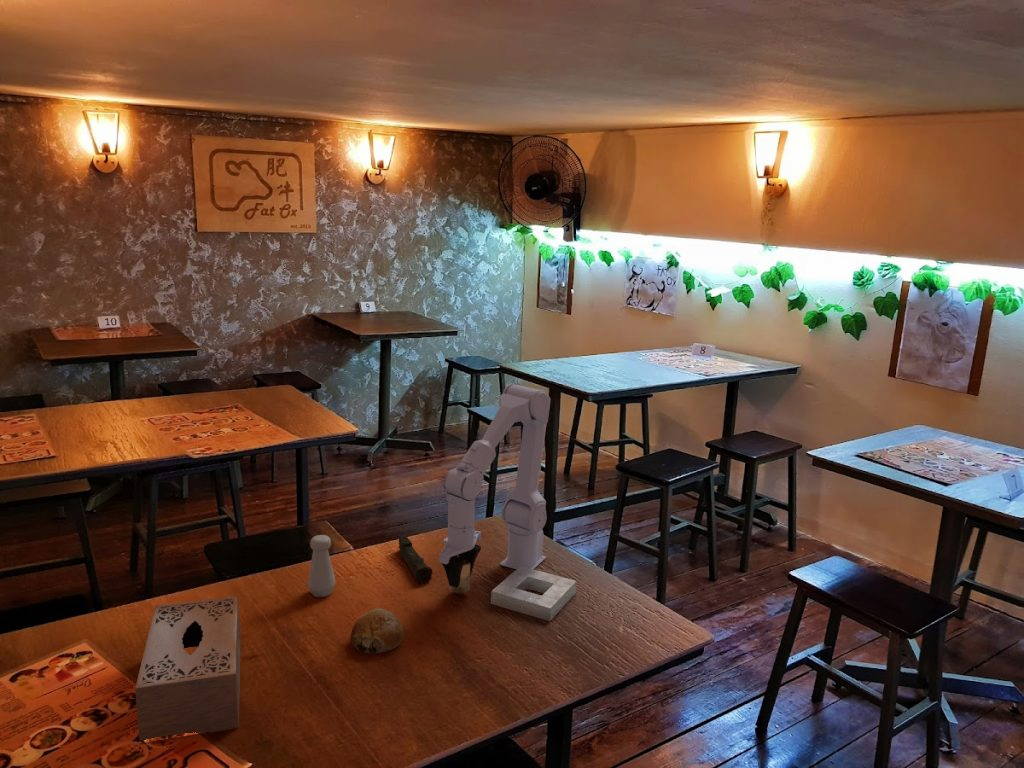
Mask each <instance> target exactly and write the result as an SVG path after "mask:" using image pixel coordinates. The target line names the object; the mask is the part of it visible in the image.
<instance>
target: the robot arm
mask: <svg viewBox="0 0 1024 768" xmlns="http://www.w3.org/2000/svg"><path fill="white" fill-rule="evenodd" d="M551 400H552V399H551V397H550V396H549V394H548V392H547V391H545V390H544V389H537V388H533V387H528V386H523V385H518V384H516V383H509V384H507V386H505V388H504V389H503V391H502V394H501V395H500V396H499V401H498V402H499V403H498V405H499V408H498V410H497V411H496V414H495V415H494V417H493V418H492V420H491V422H490V424H489V426H488V428H487V430H486V431H485V433H484V435H483V437H482V438H481V439H479V440H475V441H473V442H472V444H471V446H470V447H469V448H468V450H467V451H466V453H465V455H464V456H463V457H462V459H461V461H460V462H459V464H458V465H457V466H456V467H455V468H453V469H450V470H449V471H448V472H447V473H446V475H445V477H444V479H443V482H442V484H441V485H442V490H443V491H444V492H445V499H446V501H447V537H445V538H444V539H443V542H442V543H443V544H444V546H443V549H442V550H441V552H440V553H438V563H440V564H441V565H442V567H443V569H444V571H445V575H446V577H447V581H448V585H449V587H450V586H453V587H456V588H457V587H458V586H459V583H460V576H461V571H462V567H463V565H464V563H465V561H466V560H468V561H470V577H471V576H472V573H473V569H474V565H475V562H476V559H477V557H478V555H479V553H480V551H482V547H481V545H479V544H476V543H477V542H479V541H481V538H482V531H480V530H475V513H476V512H475V511H476V510H475V509H476V497H477V496H478V495H479V494H480V492H481V490H482V486H483V484H482V483H483V481H484V479H485V477H484V475H485V474H486V472H487V471H488V469H489V468H490V465H492V463H493V462H494V460H495V458H496V456H497V454H496V447H497V446H498V444H499V443H500V442H501V441H502V440H503V438H504V437H505V436H506V435H507V433H508V431H510V429H511V428H512V426H513V425H514V424H515V423H518V422H521V423H522V425H523V427H522V435H521V442H520V449H519V456H518V465H517V472H516V481H515V488H514V489H513V490H511V491H509V492H508V493H506V497H505V501H504V504H503V505H502V509H501V518H502V520H503V522H505V527H506V528H507V529H508V532H507V533H508V534H507V554H506V558H505V559H503V560H502V561H501V562H500V566H503V567H507V568H509V569H510V568H511V569H514V570H516V569H518V568H519V567H520V566H522V567H526V568H530V569H534V570H535V569H536V568H537V567H538V566H539V565H540V564H541V563H543V561H545V559H546V558H547V556H546V555H543V551H544V530H543V528H544V527H545V525H546V523H547V518H548V516H547V510H546V508H547V507H546V506H547V501H546V499H545V498H544V497H543V496H542V494H541V493H540V492H539V483H540V476H541V469H542V462H543V455H544V454H543V453H544V446H545V438H546V431H547V429H546V428H547V424H548V423H549V415H550V408H551ZM464 559H466V560H464Z"/></svg>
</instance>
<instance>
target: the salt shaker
mask: <svg viewBox="0 0 1024 768" xmlns="http://www.w3.org/2000/svg"><path fill="white" fill-rule="evenodd" d="M331 540H332V539H331V538H330V537H329V536H328V535H326V534H317V535H314V536H313V537H312V538H311V539H310V543H309V544H310V545H309V546H310V548H311V550H312V556H311V561H310V567H309V574H308V581H307V587H308V589H309V592H310V593H311V595H312V596H314V597H315V598H325V597H327V596H329V595H331V594H332V592H333V590H334V588H335V584H336V579H335V573H334V569H333V565H332V562H331V557H330V554H329V553H330V552H329V549H330V548H331V546H332V541H331Z"/></svg>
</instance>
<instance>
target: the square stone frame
mask: <svg viewBox="0 0 1024 768" xmlns="http://www.w3.org/2000/svg"><path fill="white" fill-rule="evenodd" d="M527 590H531V591H534V592H537V593H538V592H539V593H542V595H540V594H537V593H534V592H533V593H532V592H530V591H527ZM576 593H577V580H574V579H570V578H567V577H563V576H561V575H560V576H559V575H556V574H552V573H549V572H544V571H541V570H538V569H537V570H536V569H535V568H534V569H530V568H526V567H522V566H520V567H519V568H518V569H514V571H513V572H512V573H511V574H509V575H508V576H507V577H506V578H504V580H502V582H500V583H499V584H497V586H496V587H494V588H493V589H492V590H491V593H490V595H491V596H490V604H491V605H494V606H497V607H500V608H504V609H507V610H510V611H514V612H516V613H517V612H518V613H519V614H520V613H521V614H524V615H527V616H530V617H534V618H538V619H540V620H544V621H548V622H551V621H552V620H553V619H554V617H555V616H556V615H558V613H559V612H560V611H561V610H562V609H563V608H564V607H565V606H566V604H568V602H569V601H570V600H571V599H572V598H573V597H574V596H575V595H576Z"/></svg>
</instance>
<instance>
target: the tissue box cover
mask: <svg viewBox="0 0 1024 768" xmlns="http://www.w3.org/2000/svg"><path fill="white" fill-rule="evenodd" d="M240 618H241V617H240V598H239V595H237V596H236V595H235V596H228V597H227V596H226V597H217V598H210V599H202V600H191V601H185V602H184V601H183V602H175V603H168V604H166V603H165V604H158V605H157V604H156V605H154V609H153V613H152V617H151V622H150V626H149V629H148V632H147V633H148V634H147V638H146V642H145V645H144V647H145V648H144V649H143V650H144V651H143V655H142V658H141V663H140V667H139V671H138V675H137V680H136V684H135V688H134V689H135V690H134V691H135V701H136V705H135V706H136V714H137V715H136V716H137V729H138V739H139V741H142V740H146V739H151V738H155V737H162V736H168V735H175V734H180V733H181V734H182V733H193V732H194V733H195V732H196V733H199V732H200V733H201V732H202V733H203V732H209V733H214V732H220V731H221V732H222V731H226V730H231V729H232V730H233V729H238V728H240V727H239V726H240V691H241V690H240V689H241V687H240V685H241V682H240V681H241V650H240V648H241V647H242V646H241V645H242V643H241V642H242V639H241V623H240V622H241V621H240V620H241V619H240ZM195 646H196V647H197V646H199V647H198V648H196V650H195V651H194V652H193V653H192V654H191V655H190V654H188V653H187V652H186V650H184V649H183V648H188V647H195ZM203 734H204V733H203ZM139 741H138V742H139Z"/></svg>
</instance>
